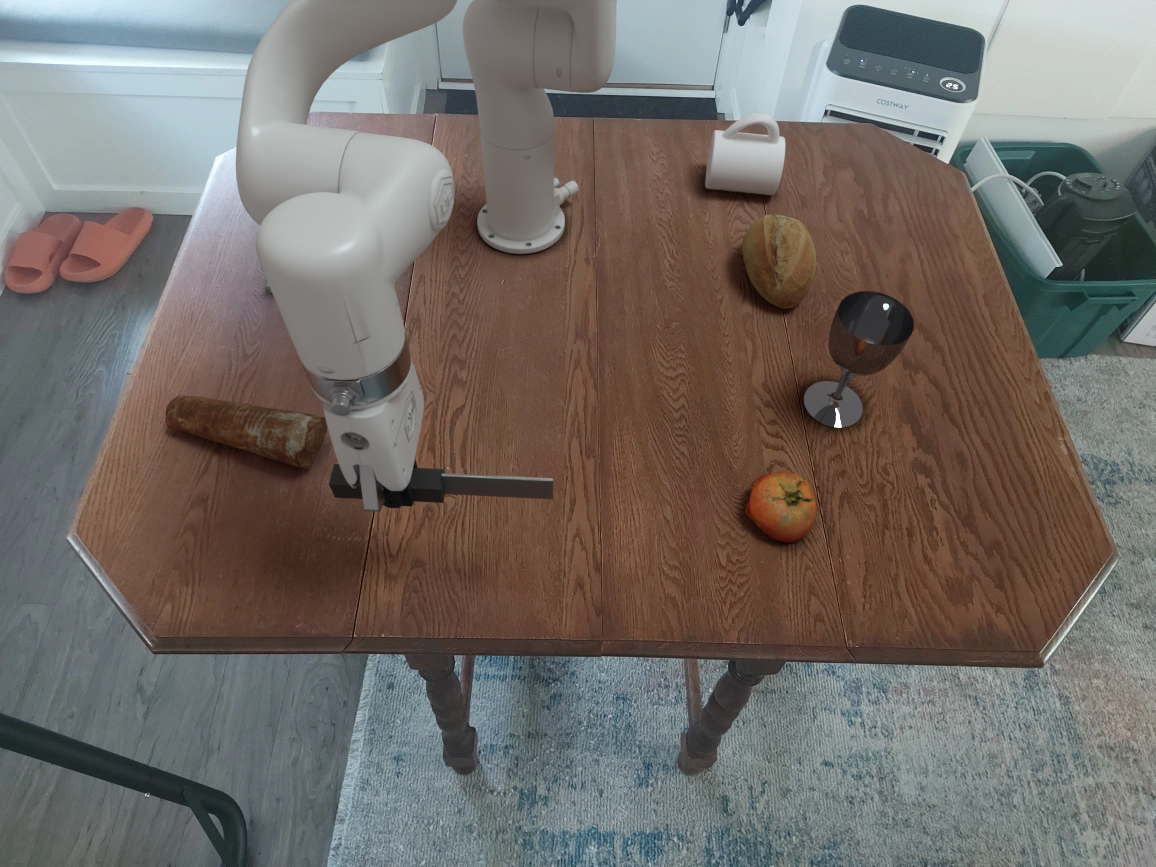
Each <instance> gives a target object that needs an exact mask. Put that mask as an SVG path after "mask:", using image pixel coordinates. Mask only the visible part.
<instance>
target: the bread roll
mask: <svg viewBox="0 0 1156 867" xmlns="http://www.w3.org/2000/svg"><path fill="white" fill-rule="evenodd" d="M741 243H742V245H741V251H742V257H743V262H744V266H745V270H746V273H747V276H748V277H749V280H750V283H751V284H752V286H753V287H754V289H755V290H756V291H757V293H758V294H759V295H760V296H761V297H762V298H763V299H764V300H765V301H767V302H768V303H770V304H771V305H773V306H774V307H777V308H780V309H792V308H794V307H796V306H797V305H798V304H799V303H800V302H801V301H803V299H804V298H806V296H807V295H808V293H809V292H810V289H811V288H812V286H813V283H814V281H815V278H816V272H817V251H816V247H815V245H814V241H813V238H812V236H811V234H810V232H809V230H808V229H807V227H806V226H805V225H804V223H802V222H801V221H800V220H799V219H796V218H794V217H791V216H790V217H789V216H786V215H782V214H773V213H771V214H764V215H763V216H761V217H759V218H757V219H756V220H755V221H754V222H753V223H752V224H751V225H750V226H749V228H748V229H747V231H746V232H745V234H744V236H743V238H742V242H741Z"/></svg>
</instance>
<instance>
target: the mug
mask: <svg viewBox="0 0 1156 867" xmlns="http://www.w3.org/2000/svg"><path fill="white" fill-rule="evenodd" d="M752 125H762V126H764V127H765V128H766V131H767V134H761V133H760V134H759V133H751V132H749V133H748V132H740V131H742V130H743V129H745V128H747V127H749V126H752ZM786 146H787V145H786V139H785V137H784V136H781V135H780V128H779V124H778V122H777V121H776V120H775V118H774V117H773V116H771V115H770V114H768V113H765V112H754V113H749V114H747V115H745V116H743V117H741V118H739V119H738V120H737V121H735V122H733V123H732V124H731V125H730V126H729V127H727V128H726V129H725V130H719V129H715V130H713V132H712V134H711V139H710V143H709V149H708V154H707V163H706V171H705V178H704V180H705V181H704V186H705V187H704V188H706V190H717V191H724V192H725V191H727V192H735V193H744V194H745V193H746V194H757V195H766V196H774V195H775V194H776V193H777V191H778V189H779V186H780V183H781V179H782V175H783V171H784V170H783V169H784V165H785V158H786Z"/></svg>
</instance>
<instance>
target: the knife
mask: <svg viewBox="0 0 1156 867" xmlns="http://www.w3.org/2000/svg"><path fill="white" fill-rule="evenodd" d="M328 485H329V488H330V490H331V492H332V494H333V497H334V498H335V499H352V500H353V499H354V500H363V497H362V490H361V482H360V483H359V486H357V487H356V488H355V489H354V488H352V487H351V486H350V485H349V484H348V482H347V481H346V479H345V477H344V475H343V473H342V471H341V468H340V466H339V463H334V464H333V467H332V471H331V474H330V478H329V482H328ZM409 485H410V488H411V492H412V495H413V498H414V502H416V503H434V504H435V503H436V504H444V503H445V496H446V495H455V496H476V497H497V498H516V499H517V498H519V499H538V500H554V478H551V477H531V476H530V477H529V476H528V477H527V476H510V475H509V476H508V475H491V474H490V475H487V474H470V473H469V474H468V473H450V472H449V473H448V472H446V473H445V468H429V467H418V468H413V470H412V475H411V479H410V482H409ZM414 502H413V503H414Z"/></svg>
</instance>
